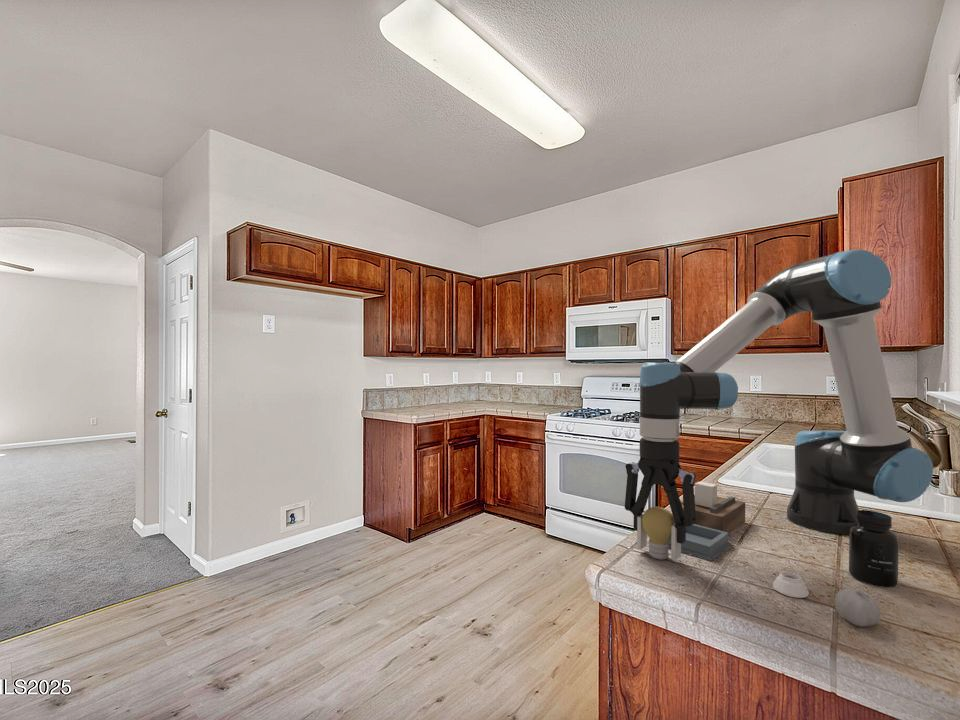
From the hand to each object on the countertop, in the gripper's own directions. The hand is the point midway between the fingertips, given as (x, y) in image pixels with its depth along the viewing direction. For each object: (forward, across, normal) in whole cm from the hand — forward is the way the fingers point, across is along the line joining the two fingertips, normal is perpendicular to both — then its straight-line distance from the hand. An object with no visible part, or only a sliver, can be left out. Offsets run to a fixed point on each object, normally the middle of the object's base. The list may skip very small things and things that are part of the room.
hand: (658, 552), depth 91 cm
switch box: (+1, 0, -28) cm, 28 cm away
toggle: (-4, 0, -25) cm, 26 cm away
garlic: (+1, -31, 0) cm, 31 cm away
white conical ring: (+1, -22, -3) cm, 22 cm away
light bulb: (+1, 0, 0) cm, 1 cm away
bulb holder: (+1, -2, -12) cm, 12 cm away
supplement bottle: (+1, -31, -20) cm, 37 cm away
